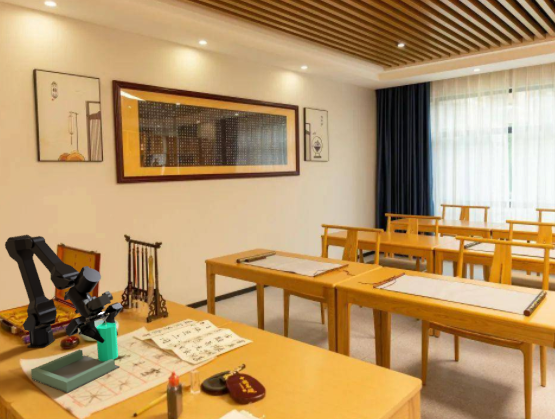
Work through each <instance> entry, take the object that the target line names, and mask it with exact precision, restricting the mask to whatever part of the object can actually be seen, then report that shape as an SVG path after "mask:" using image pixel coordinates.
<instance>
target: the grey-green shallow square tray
mask: <svg viewBox="0 0 555 419" xmlns="http://www.w3.org/2000/svg"><path fill="white" fill-rule="evenodd" d="M115 360H116V359H114V360H113V359H110V360H108V361H99V360H98V358H95V357H94V358H93V357H91V356H87V355H84V354H83V349H78V350H75V351H73V352H70V353H68V354H65V355H63V356H60V357H57V358H56V359H53V360H51V361H48V362H46V363H44V364H41V365H39V366H36V367H34V368H31V369H30V373H31V380H32V379H34V380H33V381H35V380H36V381H35V382H37V381H38V383H40V382H41V384H43V385H45V386H48V387H50V388H53V389H56V390H58V391H61V392H63V393H65V394H69V393H71V392H72V391H74V390H77V389H79V388H80V387H83V386H85V385H87V384H90V383H91V382H93V381H95V380H97V379H98V378H100V377H103V376H105V375H107V374H108V373H111V372H113V371H116V370H117V369H119V368H120V365H116V362H115Z"/></svg>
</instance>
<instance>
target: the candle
mask: <svg viewBox="0 0 555 419" xmlns="http://www.w3.org/2000/svg"><path fill="white" fill-rule="evenodd" d="M102 323H103V322H102ZM102 323H100V324H98V325H97V326H95V327H96V328H97V330H98V332H99V333H100V335H101V337H102V338H103V339H104V342H103V343H101V342H99V341H97V340H96V346H97V360H99V361H104V362H106V361H108V360H110V359H113V360H116V359H117V358H118V357H119V347H118V344H119V343H118V335H117V332H118V329H117V330H116V328H117V324H116V322H115V323H107V322H106V323H103V324H102Z"/></svg>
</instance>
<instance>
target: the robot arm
mask: <svg viewBox="0 0 555 419" xmlns="http://www.w3.org/2000/svg"><path fill="white" fill-rule="evenodd" d="M4 247H5V250H6V252H7V254H8V256H9V257H10V258H11V259H12V260H14V262H16V263H17V267H18V269H19V272H20V273H19V274H20V275H21V278H22V279H21V280H22V282H23V285H24V289H25V291H26V295H27V299H28V301H29V303H28V305H27V309H26V313H27V317H26V319H25V321H24V322H23V323H22V327H23V329H24V331H27V332H28V333H29V336H28V337H29V344H28V345H26V346H27V348H47V346H49V345H51V344H52V343H54V341H56V338H54V332H53V329H52V325H55V323H56V319H57V314H58V313H57V312H58V311H57V307H56V305H55V301H54V299H52V298H51V299H49V298H48V297H46V294H45V291H44V289H43V285H42V282H41V280H40V279H41V278H40V277H39V276H40V275H39V272H38V270H37V267H36V264H35V260H34V255H35V256H36V257H37V258H38V260H39V261H40V262H41V263H42V264H43V266H44V267H45V268H46V269H47V271H48V272H49V274H50V281H51V282H52V284H53V286H54V287H55V288H56V289H57V290H58V291H63V290H67V289H68V291H65V292H64V296H63V301H68V300H69V301H70V302H71V304H72V305H73V306H74V308H75V310H74V313H75V314H77V315H78V314H79V315H80V316H77V317H75V318H72V319H71V320H70V322H69V323H68V325H67V326H66V327H65V333H66V334H67V336H68V337H72V336H74V335H77V334H78V335H79V336H80V335H83V336H85V337H88V338H91V339H93V340H95V341H96V342H97V341H99V342H101V343H103V342H104V339H103V338H102V337H101V335H100V333H99V332H98V330H97V328H96V327H97V326H96V325H95V322H96V321H99V320H102V321H103V322H102V323H101V324H103V323H106V322H107V323H115V324H116V322H115V321H116V320H115V318H116V317H117V316H118V315H119V314H120V313H121V311H122V309H123V308H124V307H123V305H122V304H121V303H120V302H115V303H112V302H111V301H112V300H114V296H113V294H112V293H111V292H110V291H109V290H107V291H104V292H103V293H101V295H100V296H97V297H96V296H92V295H91V294H90V293H91V292H92V291H93V290H95V287H96V286H97V284H98V283H99V281H101V279H102V275H101V273H100V272H99V271H98V270H96V269H94V268H91V267H89V266H88V265H85V266H82V268H81V269H80V271H78V270H77V269H76V268H74V267H73V265H70V264H67V263H65V262H63V261H62V259H61V258H60V257H59V255H57V253H56V252H55V251H54V250H53V249H52V248H51V246H50V245H49V244H48V243H47V242H46V239H45V237H43V236H41V235H38V236H37V235H36V236H30V235H29V234H22V235H15V236H10V237H8V238H7V239H6V241H5V242H4ZM111 303H112V304H111ZM107 305H108V306H107ZM106 306H107V308H106ZM105 308H106V309H105ZM103 310H104V311H103ZM116 330H117V336H118V335H119V332H118V329H117V327H116Z"/></svg>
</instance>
